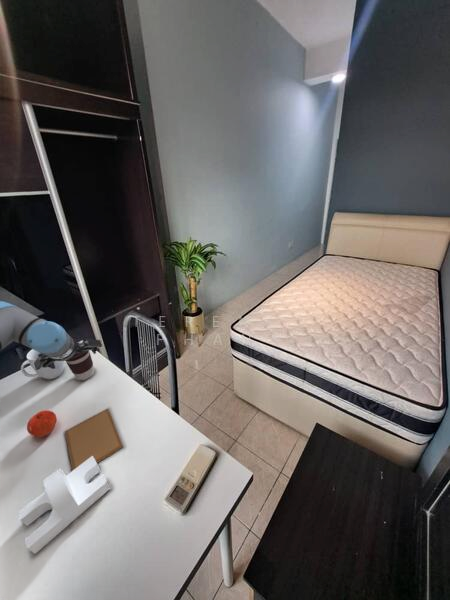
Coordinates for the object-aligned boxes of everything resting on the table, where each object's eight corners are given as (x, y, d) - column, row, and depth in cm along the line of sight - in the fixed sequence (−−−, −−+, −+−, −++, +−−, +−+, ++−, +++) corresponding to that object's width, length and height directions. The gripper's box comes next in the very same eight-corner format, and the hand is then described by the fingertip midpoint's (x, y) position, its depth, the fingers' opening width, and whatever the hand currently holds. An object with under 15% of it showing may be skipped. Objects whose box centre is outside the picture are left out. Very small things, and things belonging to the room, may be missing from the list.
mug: (27, 391, 100) (12, 367, 94) (30, 375, 108) (16, 352, 102) (69, 376, 107) (57, 352, 100) (68, 361, 115) (57, 339, 109)
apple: (45, 444, 80) (35, 428, 76) (27, 438, 82) (16, 423, 78) (65, 422, 87) (57, 407, 83) (47, 417, 89) (38, 402, 85)
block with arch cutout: (96, 462, 74) (84, 441, 68) (110, 488, 68) (99, 467, 62) (24, 517, 63) (3, 497, 57) (34, 554, 57) (11, 536, 51)
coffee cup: (70, 375, 107) (56, 348, 100) (93, 363, 113) (82, 336, 106) (77, 387, 101) (63, 359, 94) (101, 373, 107) (90, 346, 99)
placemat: (65, 431, 83) (64, 431, 83) (108, 409, 91) (107, 408, 90) (74, 478, 70) (73, 477, 70) (123, 447, 78) (122, 446, 77)
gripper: (11, 377, 67) (37, 381, 85) (108, 342, 78) (112, 353, 96) (4, 351, 68) (31, 361, 87) (101, 321, 79) (106, 336, 98)
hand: (74, 357), depth 92 cm, fingers open, 13 cm apart
